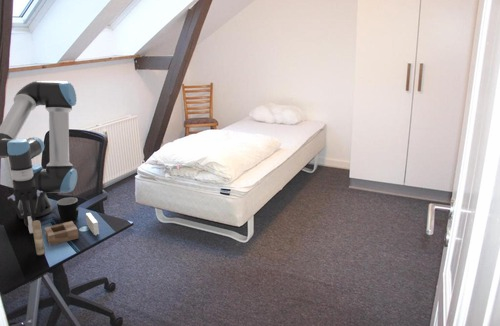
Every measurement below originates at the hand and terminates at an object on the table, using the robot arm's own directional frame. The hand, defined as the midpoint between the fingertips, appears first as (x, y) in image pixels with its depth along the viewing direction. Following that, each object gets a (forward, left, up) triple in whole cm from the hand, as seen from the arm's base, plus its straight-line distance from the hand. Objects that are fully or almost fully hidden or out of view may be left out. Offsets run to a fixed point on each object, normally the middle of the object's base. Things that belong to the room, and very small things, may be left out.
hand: (31, 231), depth 163 cm
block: (0, +11, -6) cm, 13 cm away
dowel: (+9, +1, -6) cm, 11 cm away
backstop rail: (0, +24, -6) cm, 25 cm away
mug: (-17, +18, -7) cm, 26 cm away
